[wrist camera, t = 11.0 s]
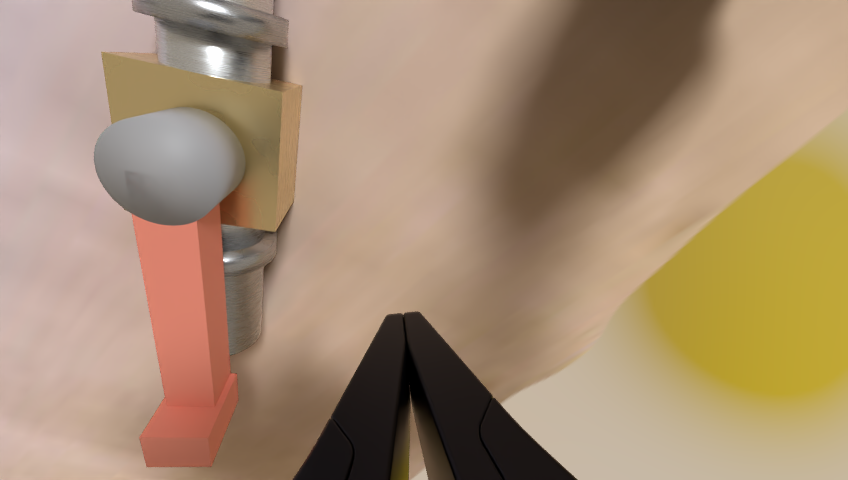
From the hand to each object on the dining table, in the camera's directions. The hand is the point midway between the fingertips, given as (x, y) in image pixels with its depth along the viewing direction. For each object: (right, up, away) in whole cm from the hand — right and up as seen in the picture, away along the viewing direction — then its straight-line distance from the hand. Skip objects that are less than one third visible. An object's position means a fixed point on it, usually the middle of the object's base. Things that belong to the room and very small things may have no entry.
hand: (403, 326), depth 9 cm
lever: (-9, +1, +7) cm, 12 cm away
